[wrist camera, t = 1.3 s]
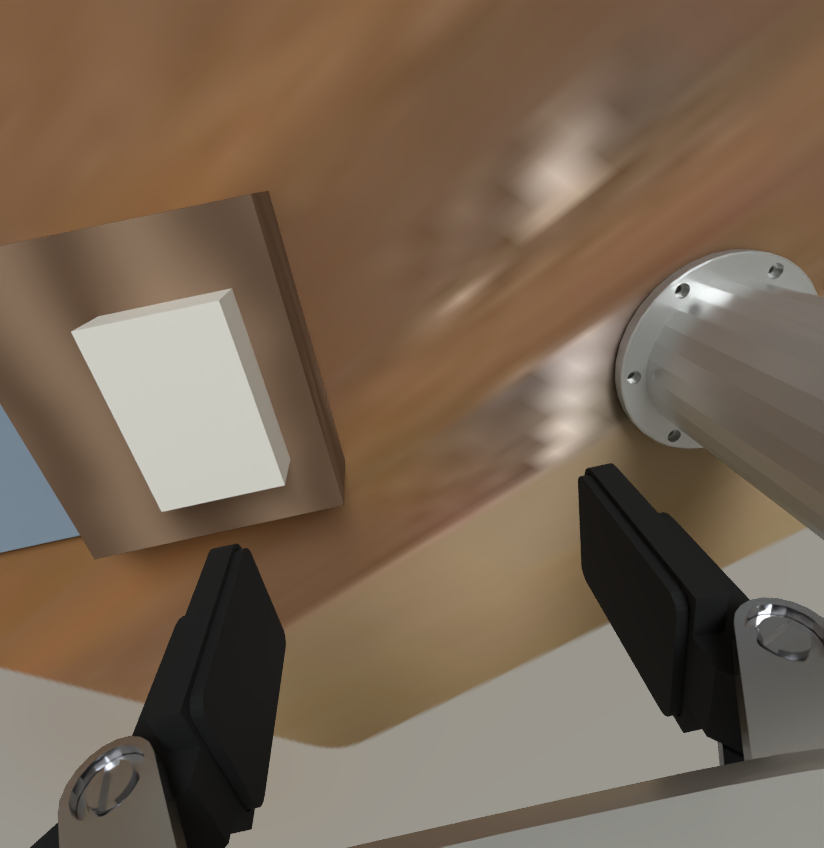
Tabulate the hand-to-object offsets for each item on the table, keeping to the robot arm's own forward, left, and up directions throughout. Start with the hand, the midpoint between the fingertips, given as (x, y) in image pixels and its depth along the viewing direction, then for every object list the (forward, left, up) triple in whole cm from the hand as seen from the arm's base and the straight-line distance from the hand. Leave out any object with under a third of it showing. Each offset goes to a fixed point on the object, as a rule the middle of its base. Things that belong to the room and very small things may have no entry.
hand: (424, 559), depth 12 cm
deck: (+11, 0, -20) cm, 23 cm away
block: (+9, 0, -15) cm, 17 cm away
